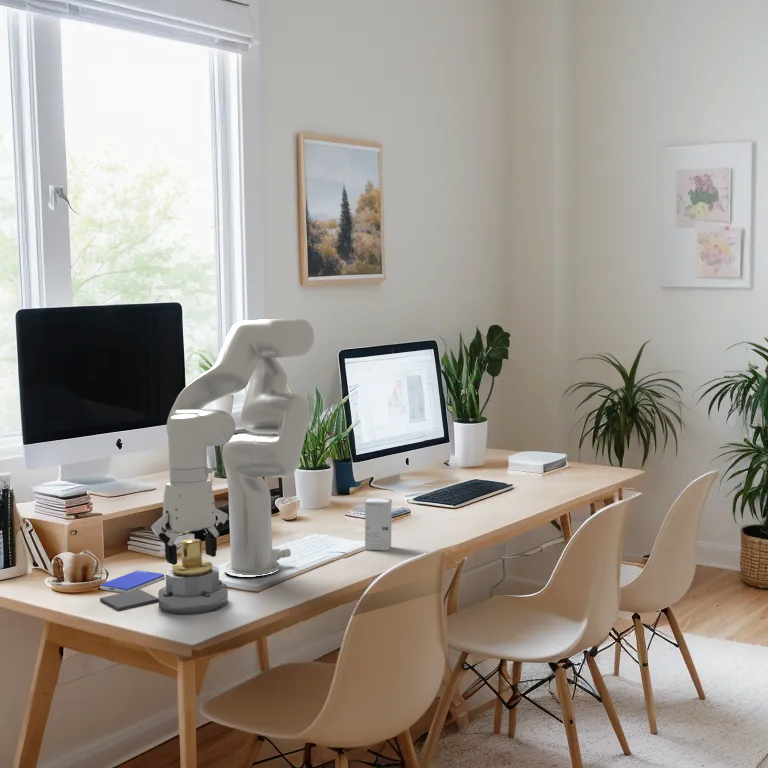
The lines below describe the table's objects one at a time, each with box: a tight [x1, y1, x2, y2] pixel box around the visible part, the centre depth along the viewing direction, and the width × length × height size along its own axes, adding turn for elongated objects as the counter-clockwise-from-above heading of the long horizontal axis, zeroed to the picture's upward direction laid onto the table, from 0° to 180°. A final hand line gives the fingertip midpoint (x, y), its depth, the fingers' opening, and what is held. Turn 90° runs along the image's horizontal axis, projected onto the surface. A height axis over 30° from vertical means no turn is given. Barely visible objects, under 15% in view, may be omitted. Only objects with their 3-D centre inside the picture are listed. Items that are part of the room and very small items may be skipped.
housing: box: [157, 564, 229, 616], centre depth 208 cm, size 14×14×7 cm
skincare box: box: [364, 497, 393, 552], centre depth 250 cm, size 6×4×12 cm
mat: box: [99, 588, 159, 611], centre depth 211 cm, size 9×9×1 cm
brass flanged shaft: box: [171, 538, 213, 576], centre depth 207 cm, size 8×8×10 cm
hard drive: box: [99, 569, 166, 594], centre depth 224 cm, size 2×8×12 cm
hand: (191, 559), depth 207 cm, fingers open, 8 cm apart
